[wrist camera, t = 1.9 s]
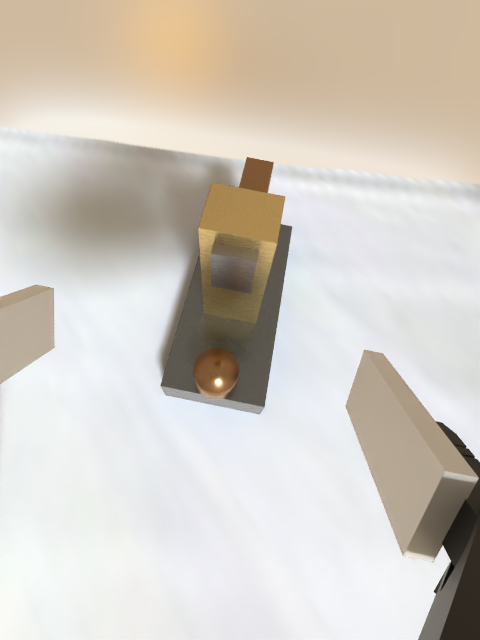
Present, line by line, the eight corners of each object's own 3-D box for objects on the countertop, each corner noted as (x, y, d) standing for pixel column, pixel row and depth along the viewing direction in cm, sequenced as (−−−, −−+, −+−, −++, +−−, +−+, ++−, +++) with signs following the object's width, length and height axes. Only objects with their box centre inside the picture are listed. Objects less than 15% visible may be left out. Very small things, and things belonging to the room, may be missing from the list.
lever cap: (262, 288, 33) (285, 196, 22) (253, 333, 31) (274, 256, 20) (213, 278, 33) (212, 182, 23) (201, 322, 31) (194, 240, 20)
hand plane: (286, 246, 40) (310, 165, 30) (258, 417, 31) (280, 387, 21) (212, 231, 40) (211, 146, 30) (165, 398, 31) (140, 359, 21)
